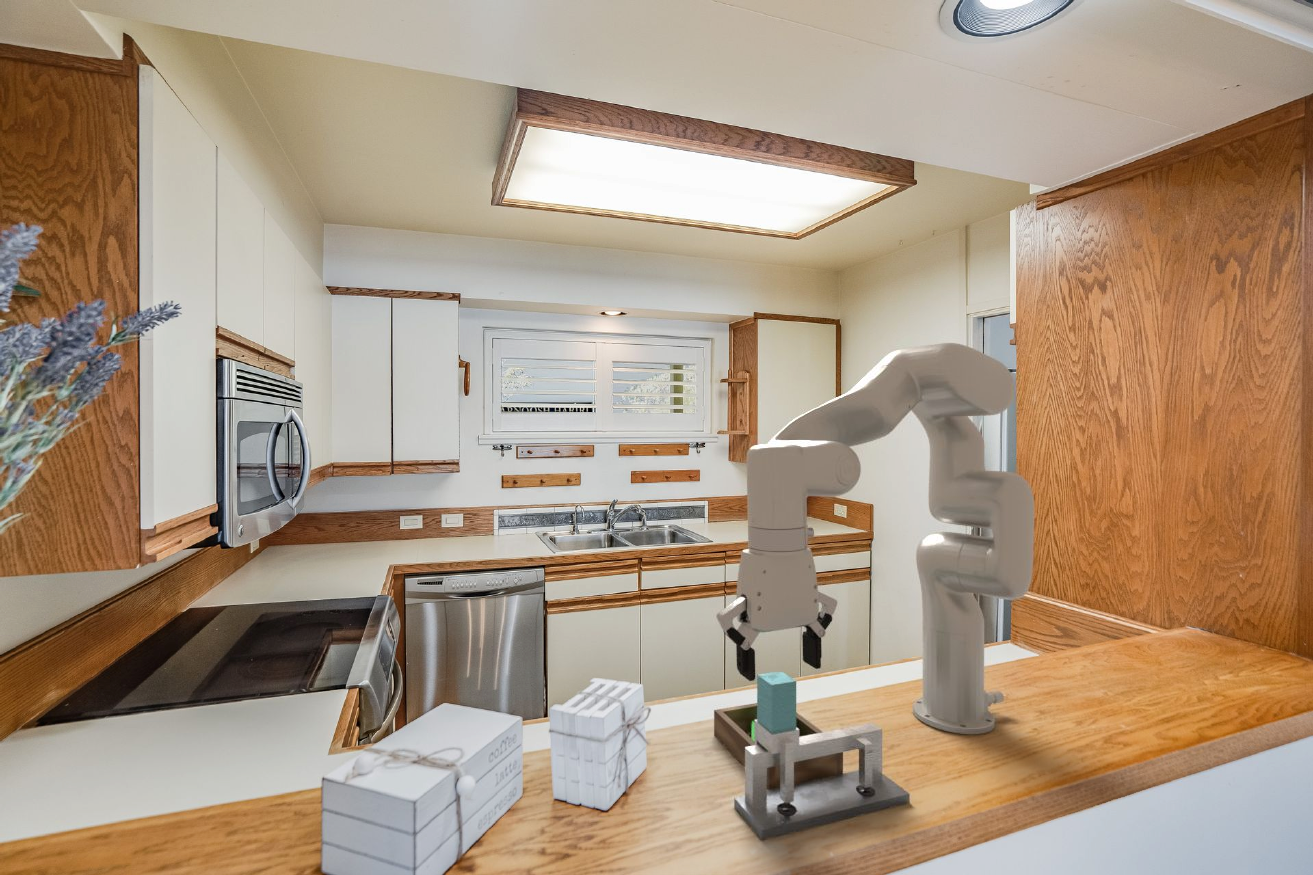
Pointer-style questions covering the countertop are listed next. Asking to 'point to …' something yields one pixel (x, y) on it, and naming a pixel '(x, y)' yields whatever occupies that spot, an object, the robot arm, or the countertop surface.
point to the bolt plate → (820, 804)
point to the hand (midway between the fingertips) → (780, 670)
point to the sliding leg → (778, 725)
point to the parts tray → (733, 736)
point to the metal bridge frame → (812, 747)
